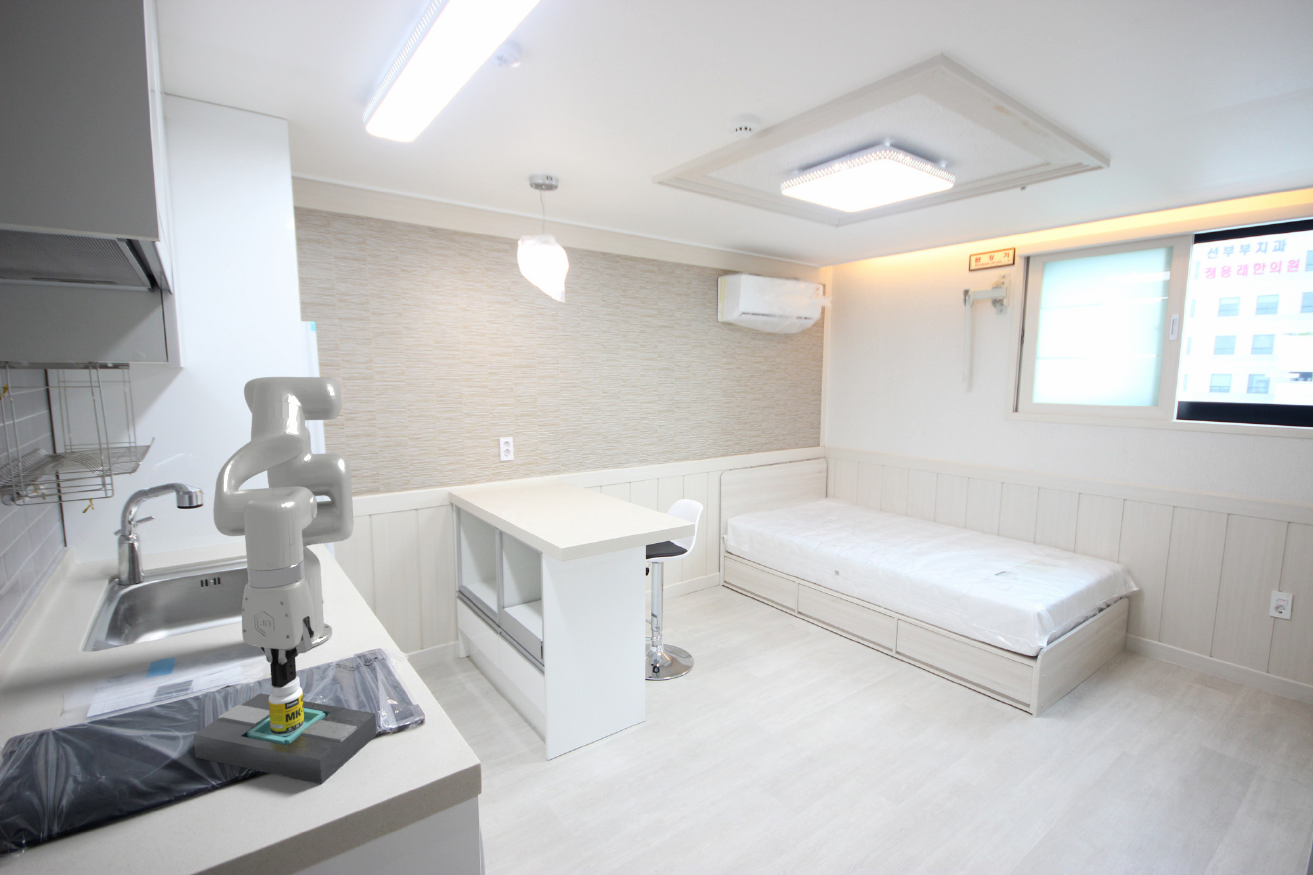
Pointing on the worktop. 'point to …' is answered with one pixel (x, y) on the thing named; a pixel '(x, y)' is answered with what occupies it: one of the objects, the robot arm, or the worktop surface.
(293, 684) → the supplement bottle
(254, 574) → the robot arm
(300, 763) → the block
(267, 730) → the tray
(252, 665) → the worktop surface
